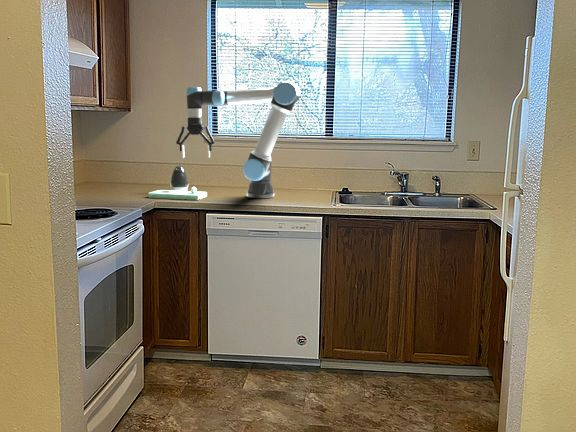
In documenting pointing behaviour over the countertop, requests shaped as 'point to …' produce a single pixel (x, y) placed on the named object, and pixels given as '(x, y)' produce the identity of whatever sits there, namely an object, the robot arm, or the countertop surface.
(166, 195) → the green
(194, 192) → the ball
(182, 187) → the dark grey egg shape
